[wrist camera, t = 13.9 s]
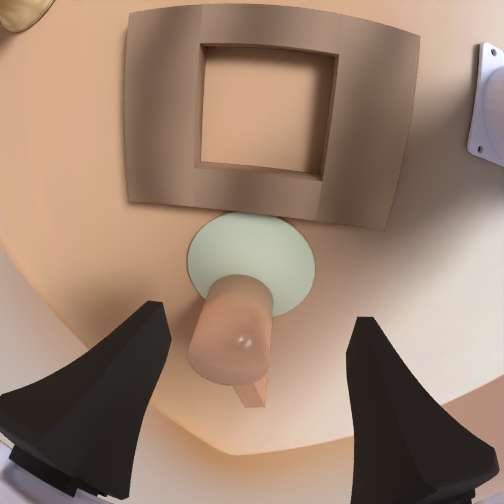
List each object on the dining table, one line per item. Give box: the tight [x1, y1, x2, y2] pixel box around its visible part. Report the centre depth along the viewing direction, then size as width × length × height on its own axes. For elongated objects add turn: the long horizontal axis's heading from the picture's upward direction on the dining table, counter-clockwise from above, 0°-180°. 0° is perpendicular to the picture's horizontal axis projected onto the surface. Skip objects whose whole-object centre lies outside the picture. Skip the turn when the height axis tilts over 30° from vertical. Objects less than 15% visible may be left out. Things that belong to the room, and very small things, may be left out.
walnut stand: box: [124, 4, 420, 231], centre depth 15 cm, size 16×12×2 cm
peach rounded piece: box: [187, 274, 274, 408], centre depth 21 cm, size 9×5×6 cm, turn 15°
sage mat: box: [188, 211, 315, 317], centre depth 21 cm, size 9×9×1 cm
